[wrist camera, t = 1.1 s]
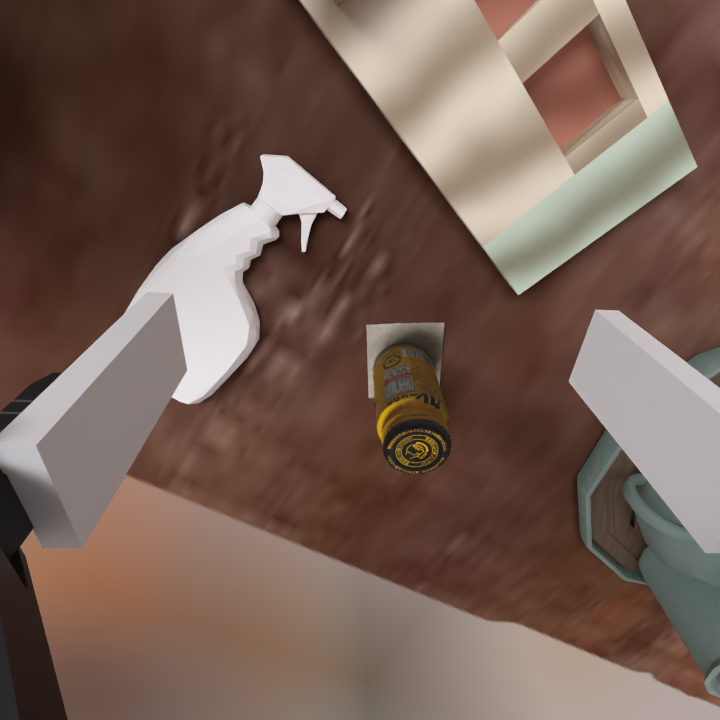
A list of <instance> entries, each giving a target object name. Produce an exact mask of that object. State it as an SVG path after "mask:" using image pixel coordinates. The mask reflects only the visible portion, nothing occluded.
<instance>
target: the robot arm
mask: <svg viewBox="0 0 720 720" xmlns="http://www.w3.org/2000/svg"><path fill="white" fill-rule="evenodd" d="M186 372H187V366H186V360H185V355H184V349H183V344H182V339H181V333H180V328H179V322H178V317H177V311H176V306H175V301H174V295H173V293H158V292H147V293H146V294H145V295H143V296H142V297H141V298H140V299H139V300H138V301H137V302H136V303H135V304H134V305H133V306H132V307H131V308H130V309H129V310H128V311H127V312H126V313H125V314H124V315H123V316H122V317H121V318H119V319H118V320H117V321H116V322H115V323H114V324H113V325H112V326H111V327H110V328H109V329H108V330H107V331H106V332H105V333H104V334H103V335H102V336H101V337H100V338H99V339H98V340H97V341H95V342H94V343H93V344H92V345H91V346H90V347H89V348H88V349H87V350H86V351H85V352H84V353H83V354H82V355H81V356H80V357H79V358H78V359H77V360H76V361H75V362H74V363H73V364H71V365H70V366H69V367H68V368H67V369H66V370H65V371H64V372H63V373H52V374H50V375H48V376H46V377H44V378H42V379H40V380H38V381H37V382H35V383H33V384H31V385H30V386H29V387H27V388H26V389H25V390H24V391H23V392H22V393H21V394H20V395H18V396H17V397H16V398H15V401H14V402H11V403H10V404H8V405H7V406H6V407H5V408H4V409H3V410H2V411H1V414H0V720H68V719H67V715H66V712H65V708H64V704H63V700H62V696H61V692H60V688H59V684H58V681H57V677H56V673H55V669H54V665H53V661H52V657H51V654H50V650H49V646H48V642H47V638H46V634H45V630H44V627H43V623H42V619H41V615H40V611H39V607H38V603H37V599H36V596H35V592H34V588H33V584H32V580H31V576H30V572H29V568H28V565H27V561H26V557H25V555H24V553H23V552H22V550H21V548H20V546H21V544H22V543H23V542H24V540H25V539H26V537H27V536H28V535H29V533H30V532H31V531H32V529H33V530H34V532H35V534H36V536H37V538H38V540H39V541H40V544H41V546H42V547H43V548H83V546H84V545H85V543H86V541H87V540H88V538H89V536H90V535H91V533H92V531H93V529H94V528H95V526H96V524H97V523H98V521H99V519H100V517H101V516H102V514H103V512H104V511H105V509H106V507H107V506H108V504H109V502H110V501H111V499H112V497H113V495H114V494H115V492H116V490H117V489H118V487H119V485H120V484H121V482H122V480H123V479H124V477H125V475H126V473H127V472H128V470H129V468H130V467H131V465H132V463H133V462H134V460H135V458H136V457H137V455H138V453H139V451H140V450H141V448H142V446H143V445H144V443H145V441H146V440H147V438H148V436H149V434H150V433H151V431H152V429H153V428H154V426H155V424H156V423H157V421H158V419H159V417H160V416H161V414H162V412H163V411H164V409H165V407H166V406H167V404H168V402H169V401H170V399H171V397H172V395H173V394H174V392H175V390H176V389H177V387H178V385H179V384H180V382H181V380H182V378H183V377H184V375H185V373H186ZM569 383H570V384H571V385H572V387H573V388H574V389H575V390H576V392H577V393H578V394H579V395H580V397H581V398H582V399H583V400H584V402H585V403H586V404H587V405H588V407H589V408H590V409H591V410H592V412H593V413H594V414H595V415H596V417H597V418H598V419H599V420H600V422H601V423H602V424H603V425H604V427H605V428H606V429H607V430H608V432H609V433H610V434H611V435H612V437H613V438H614V439H615V440H616V442H617V443H618V444H619V445H620V447H621V448H622V449H623V450H624V452H625V453H626V454H627V455H628V457H629V458H630V459H631V461H632V462H633V463H634V464H635V466H636V467H637V468H638V469H639V471H640V472H641V473H642V474H643V476H644V477H645V478H646V479H647V481H648V482H649V483H650V484H651V486H652V487H653V488H654V489H655V491H656V492H657V493H658V494H659V496H660V497H661V498H662V499H663V501H664V502H665V503H666V504H667V506H668V507H669V508H670V509H671V511H672V512H673V513H674V514H675V516H676V517H677V518H678V519H679V521H680V522H681V523H682V524H683V526H684V527H685V528H686V529H687V531H688V532H689V533H690V534H691V536H692V537H693V538H694V539H695V541H696V542H697V543H698V544H699V546H700V547H701V548H702V549H703V551H704V552H705V553H720V388H719V387H718V386H717V385H715V384H714V383H713V382H711V381H710V380H709V379H707V378H706V377H705V376H704V375H702V374H701V373H700V372H698V371H697V370H696V369H694V368H693V367H692V366H690V365H689V364H688V363H687V362H685V361H684V360H683V359H681V358H680V357H679V356H677V355H676V354H675V353H673V352H672V351H671V350H669V349H668V348H667V347H666V346H664V345H663V344H662V343H660V342H659V341H658V340H656V339H655V338H654V337H652V336H651V335H650V334H649V333H647V332H646V331H645V330H643V329H642V328H641V327H639V326H638V325H637V324H635V323H634V322H633V321H631V320H630V319H629V318H628V317H626V316H625V315H624V314H622V313H621V312H620V311H614V310H595V312H594V315H593V317H592V320H591V323H590V325H589V328H588V331H587V333H586V336H585V339H584V342H583V344H582V347H581V350H580V352H579V355H578V358H577V360H576V363H575V366H574V368H573V371H572V374H571V376H570V379H569Z"/></svg>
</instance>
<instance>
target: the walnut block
mask: <svg viewBox="0 0 720 720" xmlns="http://www.w3.org/2000/svg"><path fill="white" fill-rule="evenodd" d="M333 1H334V2H335V4H336V5H337V7H338V6H339V5H340V4H341V3H342V2H343V1H344V0H333Z"/></svg>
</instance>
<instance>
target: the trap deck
mask: <svg viewBox="0 0 720 720" xmlns="http://www.w3.org/2000/svg"><path fill="white" fill-rule="evenodd" d="M298 1H299V2H300V3H301V5H302V6H303V7H304V9H305V10H306V11H307V13H308V14H309V16H310V17H311V18H312V20H313V21H314V22H315V24H316V25H317V26H318V28H319V29H320V30H321V32H322V33H323V34H324V36H325V37H326V38H327V40H328V41H329V43H330V44H331V45H332V47H333V48H334V49H335V51H336V52H337V53H338V55H339V56H340V57H341V59H342V60H343V61H344V63H345V64H346V65H347V67H348V68H349V69H350V71H351V72H352V74H353V75H354V76H355V78H356V79H357V80H358V82H359V83H360V84H361V86H362V87H363V88H364V90H365V91H366V92H367V94H368V95H369V96H370V98H371V99H372V100H373V102H374V103H375V105H376V106H377V107H378V109H379V110H380V111H381V113H382V114H383V115H384V117H385V118H386V119H387V121H388V122H389V123H390V125H391V126H392V127H393V129H394V130H395V132H396V133H397V134H398V136H399V137H400V138H401V140H402V141H403V142H404V144H405V145H406V146H407V148H408V149H409V150H410V152H411V153H412V154H413V156H414V157H415V158H416V160H417V161H418V163H419V164H420V165H421V167H422V168H423V169H424V171H425V172H426V173H427V175H428V176H429V177H430V179H431V180H432V181H433V183H434V184H435V185H436V187H437V188H438V190H439V191H440V192H441V194H442V195H443V196H444V198H445V199H446V200H447V202H448V203H449V204H450V206H451V207H452V208H453V210H454V211H455V212H456V214H457V215H458V216H459V218H460V219H461V221H462V222H463V223H464V225H465V226H466V227H467V229H468V230H469V231H470V233H471V234H472V235H473V237H474V238H475V239H476V241H477V242H478V243H479V245H480V246H481V248H482V249H483V250H484V252H485V253H486V254H487V256H488V257H489V258H490V260H491V261H492V262H493V264H494V265H495V266H496V268H497V269H498V270H499V272H500V273H501V274H502V276H503V277H504V279H505V280H506V281H507V283H508V284H509V285H510V286H511V287H512V289H513V290H514V291H515V292H516V293H517V294H518V295H520V294H521V293H522V292H524V291H525V290H527V289H528V288H529V287H531V286H532V285H534V284H535V283H536V282H538V281H539V280H541V279H542V278H543V277H545V276H546V275H547V274H549V273H550V272H552V271H553V270H554V269H556V268H557V267H559V266H560V265H561V264H563V263H564V262H566V261H567V260H568V259H570V258H571V257H573V256H574V255H575V254H577V253H578V252H580V251H581V250H582V249H584V248H585V247H587V246H588V245H589V244H591V243H592V242H593V241H595V240H596V239H598V238H599V237H600V236H602V235H603V234H605V233H606V232H607V231H609V230H610V229H612V228H613V227H614V226H616V225H617V224H619V223H620V222H621V221H623V220H624V219H626V218H627V217H628V216H630V215H631V214H632V213H634V212H635V211H637V210H638V209H639V208H641V207H642V206H644V205H645V204H646V203H648V202H649V201H651V200H652V199H653V198H655V197H656V196H658V195H659V194H660V193H662V192H663V191H665V190H666V189H667V188H669V187H670V186H671V185H673V184H674V183H676V182H677V181H678V180H680V179H681V178H683V177H684V176H685V175H687V174H688V173H690V172H691V171H692V170H694V169H695V168H697V165H696V162H695V160H694V158H693V155H692V153H691V151H690V148H689V146H688V144H687V142H686V139H685V137H684V135H683V132H682V130H681V128H680V125H679V123H678V121H677V118H676V116H675V114H674V111H673V109H672V107H671V104H670V102H669V100H668V97H667V95H666V93H665V91H664V88H663V86H662V84H661V81H660V79H659V77H658V74H657V72H656V70H655V67H654V65H653V63H652V60H651V58H650V56H649V53H648V51H647V49H646V47H645V44H644V42H643V40H642V37H641V35H640V33H639V30H638V28H637V26H636V23H635V21H634V19H633V16H632V14H631V12H630V9H629V7H628V5H627V3H626V0H344V1H343V2H342V3H341V4H340V5H339V6H338V7H337V5H336V4H335V2H334V1H333V0H298Z"/></svg>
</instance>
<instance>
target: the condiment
mask: <svg viewBox="0 0 720 720" xmlns="http://www.w3.org/2000/svg"><path fill="white" fill-rule="evenodd" d="M366 326H367V360H368V393H369V398H374V400H375V409H376V424H377V432H378V435H379V437H380V439H381V440H382V445H383V453H384V456H385V458H386V460H387V461H388V462H389V464H390V466H391V467H393V468H394V469H396V470H398V471H401V472H404V473H409V474H424V473H426V472H429V471H432V470H434V469H436V468H437V467H439V466H440V465H442V464H443V463H444V462H445V460H446V459H447V457H448V456H449V454H450V448H451V439H450V435H449V432H448V429H449V415H448V411H447V408H446V405H445V402H444V399H443V395H442V392H441V389H440V371H441V361H442V347H443V335H444V323H434V322H432V323H395V324H375V325H366ZM389 341H391V342H390V343H388V342H389ZM387 344H388V346H386V345H387ZM428 350H429V351H428Z"/></svg>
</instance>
